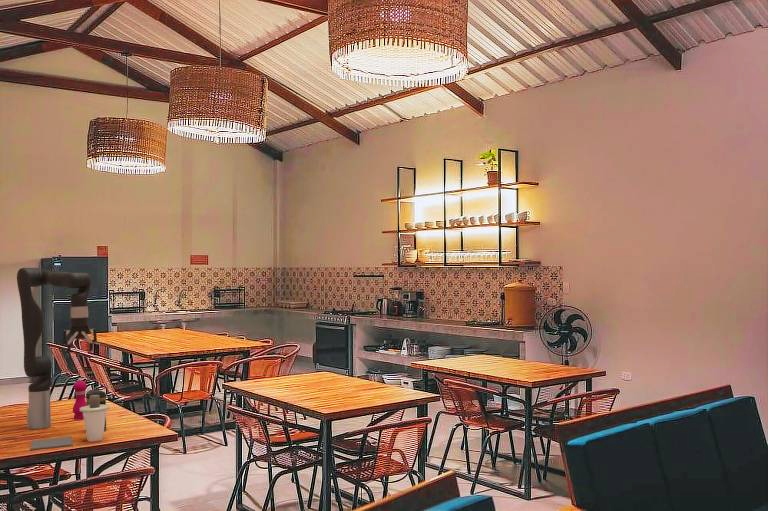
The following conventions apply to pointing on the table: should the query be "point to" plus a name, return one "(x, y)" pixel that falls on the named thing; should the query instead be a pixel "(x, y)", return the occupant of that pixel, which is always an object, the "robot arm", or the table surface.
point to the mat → (51, 443)
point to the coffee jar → (101, 396)
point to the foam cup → (94, 425)
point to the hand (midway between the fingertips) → (80, 352)
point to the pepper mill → (79, 399)
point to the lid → (94, 405)
